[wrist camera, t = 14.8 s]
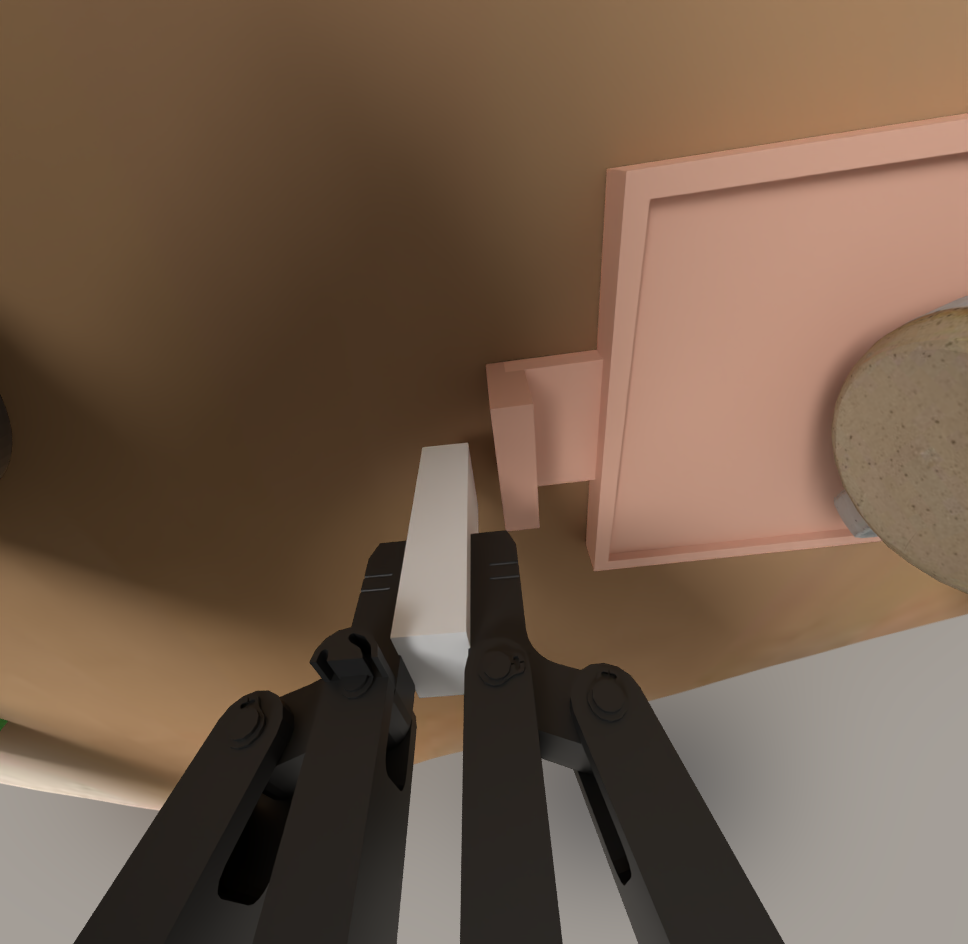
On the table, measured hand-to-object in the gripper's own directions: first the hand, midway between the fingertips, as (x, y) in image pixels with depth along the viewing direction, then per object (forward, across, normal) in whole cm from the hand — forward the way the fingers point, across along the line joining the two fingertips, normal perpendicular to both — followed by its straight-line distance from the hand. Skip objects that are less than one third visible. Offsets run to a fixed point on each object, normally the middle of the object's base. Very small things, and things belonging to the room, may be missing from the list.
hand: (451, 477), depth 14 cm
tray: (+2, +13, +1) cm, 13 cm away
